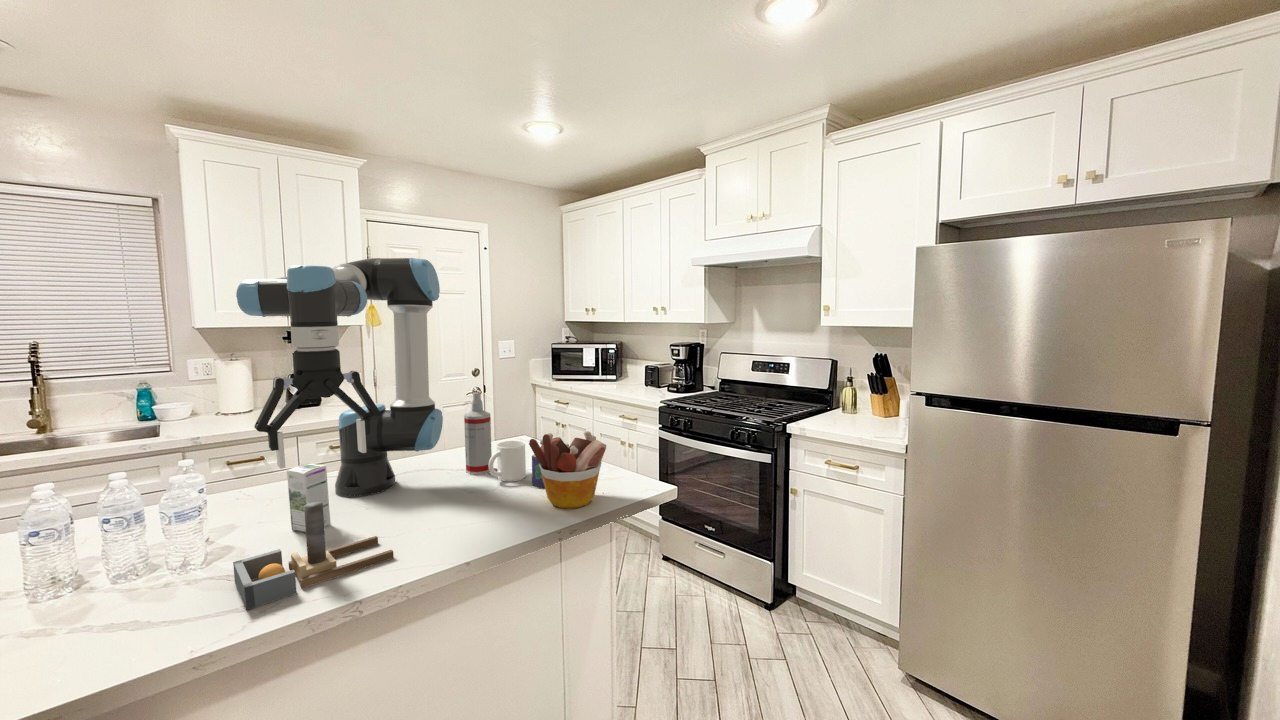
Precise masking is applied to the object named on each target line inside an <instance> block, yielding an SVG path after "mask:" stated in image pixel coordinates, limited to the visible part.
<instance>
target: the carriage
mask: <svg viewBox="0 0 1280 720" xmlns="http://www.w3.org/2000/svg"><path fill="white" fill-rule="evenodd" d="M304 512H305V527H306V533H305V538H306V539H305V541H306V554H307V557H306V556H303V557H304V558H303V557H301V555H299V553H298V552H294V553H291V554H290V559H291V560H290V561H291V562H292V570H294V571H295V576H296V578H297V580H298V581H299V582H300V578H304V577H307V576H310V575H313V574H316V573H319V572H322V571H326V570H329V569H332V568H335V567H338V566H337V560H336V559H335V557H334V558H333V556H332V555H331V554H330V553H329V552H328V551H327V549H326V536H325V535H326V533H325V527H324V515H323V503H322V502H313V503H309V504H306V505H305V506H304Z"/></svg>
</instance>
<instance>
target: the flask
mask: <svg viewBox="0 0 1280 720" xmlns="http://www.w3.org/2000/svg"><path fill="white" fill-rule="evenodd" d="M531 487H532V488H537V489H542V490H545V486H544V482H543V478H542V473H541V469H540V467H539V461H538V460H537V458H536V456H535V454H534V453H533V454H532V455H531Z"/></svg>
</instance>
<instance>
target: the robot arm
mask: <svg viewBox="0 0 1280 720" xmlns="http://www.w3.org/2000/svg"><path fill="white" fill-rule="evenodd" d="M286 273H287V275H286V276H284V277H275V278H254V279H244V280H242V281H241V283H239V284H238V286H237V289H236V292H235V293H236V296H235V297H236V300H237V301H236V302H237V305H238V307H239V309H240V311H241V312H242V313H244V314H245V315H248V316H253V317H262V318H266V317H289V318H290V322H289V323H290V338H291V347H292V348H293V349H295V350H294V351H293V352H292V366H293V375H292V377H291V378H290V377H289V378H287V377H284V378H283V377H280V376H275V377H274V378H273V380H272V390H271V392H270V394H269V396H268V398H267V400H266V402H265V404H264V406H263V408H262V410H261V412H260V414H259V416H258V417H257V420H256V422H255V424H254V429H255V430H256V431H257V432H260V433H262V432H264V433H267V440H268V448H269V449H270V451H271V452H273V451H276V464H277V467H279V469H286V457H285V445H284V444H285V443H284V433H283V431H281V430H280V429H281V428H282V426H283V425H284V424H285V423H286V422H287V420H288V419H289V418H290V417H291V416H292V414H294V412H295V411H296V410H297V409H298V407H299V406H300V405H301V404H302V403H304V402H305V400H306V399H310V400H316V399H320V398H324V399H326V398H327V399H328V398H331V397H332V396H335V397H337V398H338V399H339V400H340V401H342V403H343V404H345V405H346V406H348V408H350V409H346V410H344V411H343V412H341V413H340V414H339V416H338V427H337V429H338V437H339V451H340V466H339V470H338V473H337V476H336V480H335V483H334V488H335V489H334V490H335V491H334V493H335V494H336V495H338V496H342V497H353V498H354V497H363V496H370V495H375V494H379V493H382V492H385V491H388V490H390V489H392V488H393V487H395V485H396V475H395V471H394V470H393V467H392V466H391V463H390V460H389V458H388V452H419V451H420V452H421V451H430V450H433V449H434V448H435V447H436V446H437V444H438V442H439V441H440V439H441V434H442V431H443V430H442V429H443V420H444V419H443V418H444V416H443V412H442V410H441V409H438V408H436V402H435V401H434V399H432V398H431V397H430V384H429V383H430V381H429V379H430V377H429V344H428V343H429V339H428V313H429V312H430V311H431V309H432V308H433V302H436V301H438V300H439V297H440V294H441V293H440V291H441V288H440V282H439V277H438V274H437V271H436V269H435V267H434V264H433V263H432V262H430V261H429V260H427V259H423V258H417V257H416V258H414V257H408V258H405V257H398V258H397V257H395V258H393V257H392V258H390V257H389V258H388V257H387V258H385V257H383V258H379V257H377V258H376V257H371V258H365V259H360V260H355V261H350V262H346V263H339V264H337V265H336V266H334V267H333V268H332V267H330V266H326V265H325V266H324V265H300V264H298V265H292V266H290V267H288V269H287V272H286ZM368 300H371V301H386V303H387V304H386V305H387V308H388V309H390V310H391V311H392V313H393V330H394V331H393V336H394V337H393V338H394V340H393V341H394V343H393V345H394V369H395V370H394V374H395V399H394V400H393V401H392V402H391V403H390V404H389V408H390V409H387V408H386V405H385V404H382V403H381V404H380V403H375V401H374V400H373V399H372V396H370V394H369V392H368V391H367V389H366V388H365V386H364V385H363V382H362V381H361V375H360V372H358V371H356V370H350V371H349V372H345V373H343V372H342V370H341V369H342V367H341V353H340V350H339V349H337V348H336V347H339V346H340V341H339V327H338V325H339V323H338V317H351V316H355V315H358V314H361V313H362V311H364V310H365V308H366V307H367V303H368ZM344 380H346V382H347V383H348V384H351V386H352V387H353V389H354V391H355V393H356V394H357V395H358V397H359V398H360V400H361V401H362V403H363V404H364V405H363V406H360V405H359V404H358V403H357V402H356V401H354V400H353V398H351V397H350V396H349V395H348V394H347V393H346V392H345V391H344V390H342V389H341V388H340V386H341V385H342V383H343V382H344ZM290 385H292V386H293V387H294V388H295V389H296V392H295V393H294V394H293V395H292V396H291V398H290V400H288V401H287V403H286V404H285V406H284V407H282V409H281V410H279V412H278V413H277V414H276V416H275V417H274V418H273V419H272V420H271V418H272V416H273V414H274V412H275V411H276V408H277V406H278V404H279V402H280V400H281V398H282V395H283V393H284V391H287V390H288V388H289V386H290ZM270 420H271V422H270ZM269 422H270V423H269Z"/></svg>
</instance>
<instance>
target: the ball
mask: <svg viewBox="0 0 1280 720" xmlns="http://www.w3.org/2000/svg"><path fill="white" fill-rule="evenodd" d="M284 572H286V570H285V568H284V566H283V564H282V565H280V564H276V563H275V564H269V565H267V566H265V567H264V568H263V569H262V570H261V571H260V573H259V576H258V579H257V581H258V580H261V579H264V578H268V577H271V576H274V575H277V574H281V573H284Z"/></svg>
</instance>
